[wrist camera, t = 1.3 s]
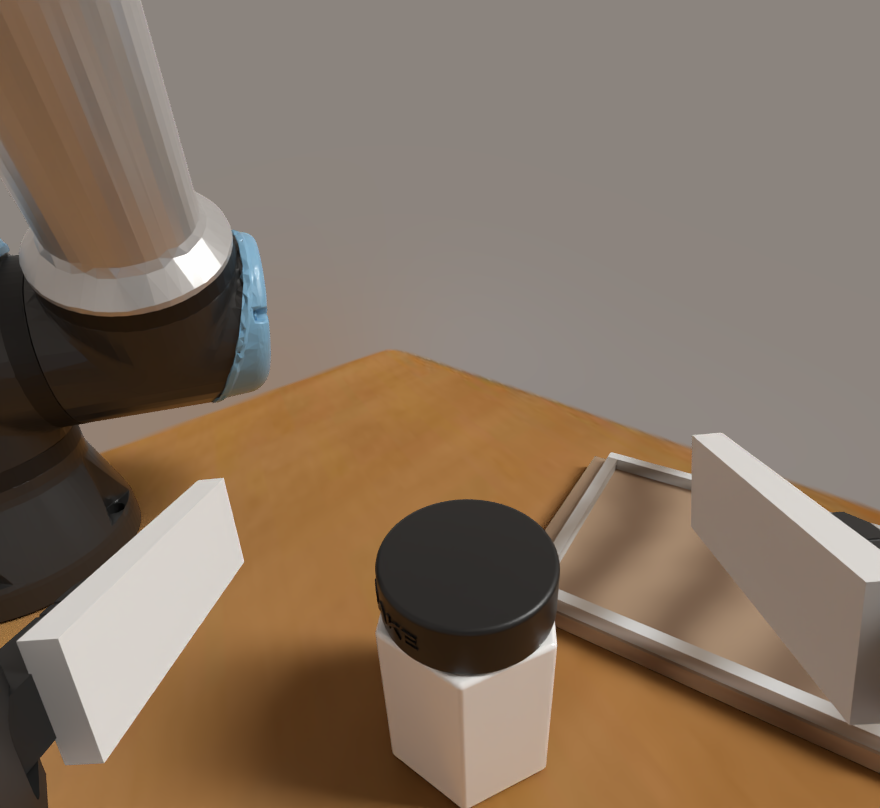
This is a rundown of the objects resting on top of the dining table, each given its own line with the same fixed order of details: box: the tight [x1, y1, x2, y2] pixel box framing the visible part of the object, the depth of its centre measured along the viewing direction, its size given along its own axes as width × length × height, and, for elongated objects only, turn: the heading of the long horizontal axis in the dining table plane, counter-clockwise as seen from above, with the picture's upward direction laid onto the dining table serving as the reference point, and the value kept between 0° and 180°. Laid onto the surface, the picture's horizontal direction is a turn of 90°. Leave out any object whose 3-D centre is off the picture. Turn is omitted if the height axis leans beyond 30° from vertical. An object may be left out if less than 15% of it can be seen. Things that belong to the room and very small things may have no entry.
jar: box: [375, 499, 560, 808], centre depth 27 cm, size 9×8×12 cm
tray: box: [545, 452, 880, 773], centre depth 37 cm, size 22×18×2 cm
